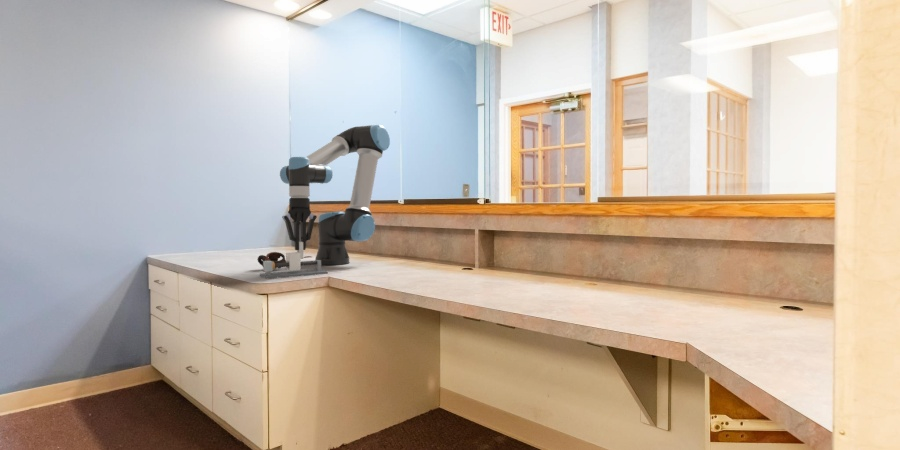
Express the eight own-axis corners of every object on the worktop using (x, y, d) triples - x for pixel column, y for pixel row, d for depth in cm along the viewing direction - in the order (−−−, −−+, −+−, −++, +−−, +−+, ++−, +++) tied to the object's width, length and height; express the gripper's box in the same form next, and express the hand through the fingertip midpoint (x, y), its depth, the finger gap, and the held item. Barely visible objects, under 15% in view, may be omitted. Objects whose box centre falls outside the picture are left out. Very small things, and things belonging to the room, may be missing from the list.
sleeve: (296, 268, 199) (296, 252, 198) (300, 269, 195) (300, 253, 195) (286, 269, 196) (286, 252, 196) (290, 270, 193) (289, 253, 192)
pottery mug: (288, 268, 218) (290, 253, 214) (280, 281, 210) (282, 265, 206) (260, 262, 217) (261, 246, 213) (251, 274, 209) (252, 258, 205)
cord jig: (318, 270, 207) (318, 256, 206) (327, 273, 199) (327, 258, 198) (259, 275, 193) (259, 260, 193) (267, 278, 185) (267, 262, 185)
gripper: (312, 197, 203) (313, 256, 204) (279, 197, 195) (280, 258, 196) (319, 197, 197) (320, 258, 198) (285, 197, 189) (286, 260, 190)
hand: (300, 258), depth 197 cm, fingers closed
